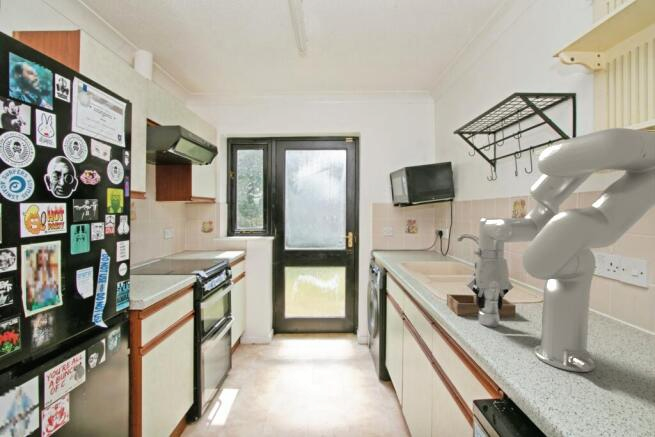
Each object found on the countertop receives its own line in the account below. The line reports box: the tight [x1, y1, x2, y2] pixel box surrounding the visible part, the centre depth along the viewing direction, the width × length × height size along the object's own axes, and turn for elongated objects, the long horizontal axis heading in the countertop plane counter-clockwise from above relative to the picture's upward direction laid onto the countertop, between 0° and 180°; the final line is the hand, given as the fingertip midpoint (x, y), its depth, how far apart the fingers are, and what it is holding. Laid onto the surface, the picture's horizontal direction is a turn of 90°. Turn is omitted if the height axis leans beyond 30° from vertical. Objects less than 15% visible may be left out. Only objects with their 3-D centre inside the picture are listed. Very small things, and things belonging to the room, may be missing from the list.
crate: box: [446, 293, 516, 318], centre depth 115 cm, size 12×20×5 cm, turn 87°
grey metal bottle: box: [477, 281, 501, 328], centre depth 102 cm, size 6×7×20 cm
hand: (489, 307), depth 102 cm, fingers closed on grey metal bottle, 5 cm apart
